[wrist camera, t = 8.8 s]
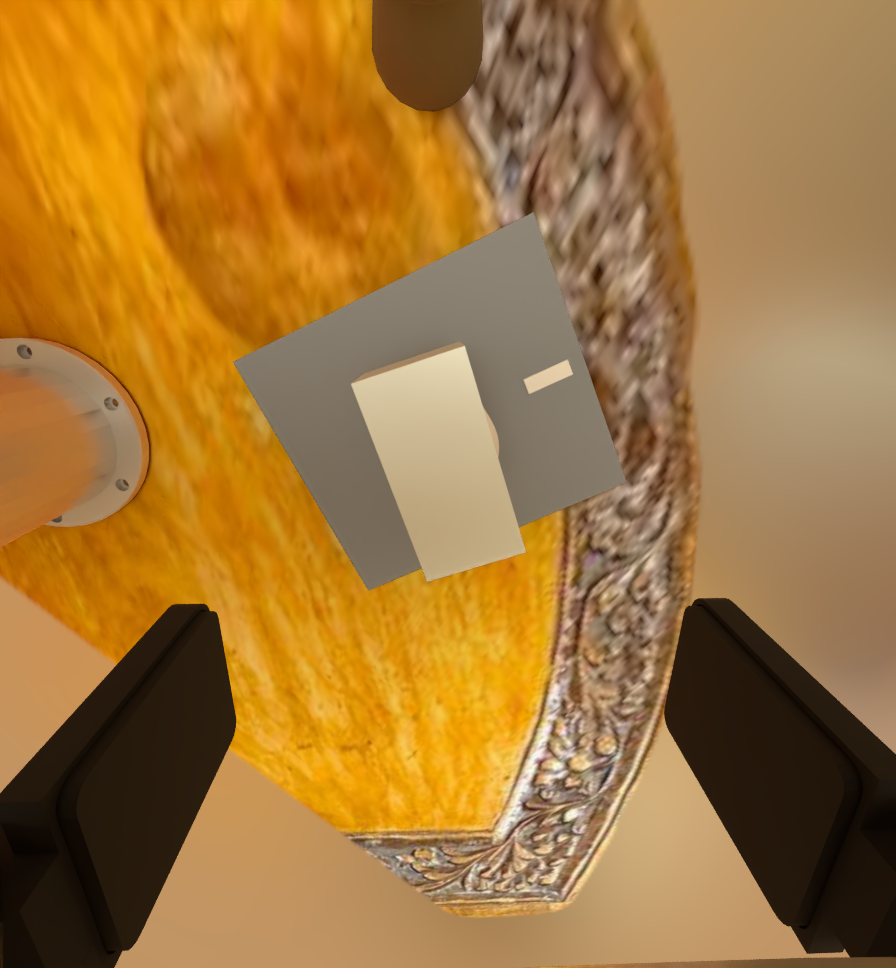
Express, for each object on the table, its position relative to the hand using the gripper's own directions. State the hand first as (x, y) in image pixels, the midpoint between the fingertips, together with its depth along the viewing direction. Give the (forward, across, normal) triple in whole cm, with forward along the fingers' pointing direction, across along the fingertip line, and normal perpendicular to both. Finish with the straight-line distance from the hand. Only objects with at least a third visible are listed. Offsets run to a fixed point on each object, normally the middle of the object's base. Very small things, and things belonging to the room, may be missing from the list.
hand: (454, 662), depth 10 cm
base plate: (+24, 0, 0) cm, 24 cm away
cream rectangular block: (+19, 0, 0) cm, 19 cm away
